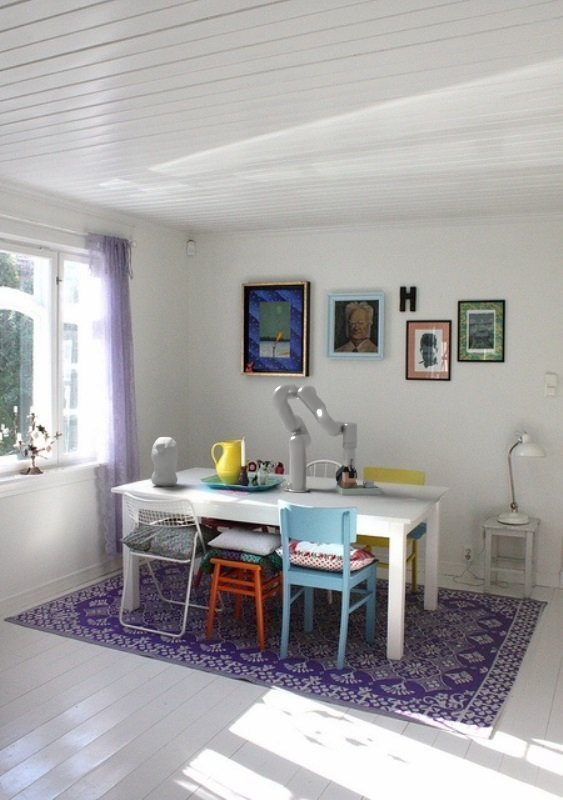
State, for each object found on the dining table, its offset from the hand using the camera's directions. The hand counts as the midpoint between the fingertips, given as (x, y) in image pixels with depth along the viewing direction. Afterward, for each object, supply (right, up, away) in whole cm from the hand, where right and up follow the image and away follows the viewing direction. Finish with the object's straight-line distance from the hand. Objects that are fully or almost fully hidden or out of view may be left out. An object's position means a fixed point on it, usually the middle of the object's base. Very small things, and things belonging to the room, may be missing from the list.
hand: (349, 476), depth 404 cm
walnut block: (0, -9, 0) cm, 9 cm away
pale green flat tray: (+5, -10, +2) cm, 11 cm away
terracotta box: (0, -3, 0) cm, 3 cm away
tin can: (+11, -9, +2) cm, 14 cm away
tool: (0, -9, +20) cm, 22 cm away
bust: (-103, -8, +16) cm, 105 cm away
